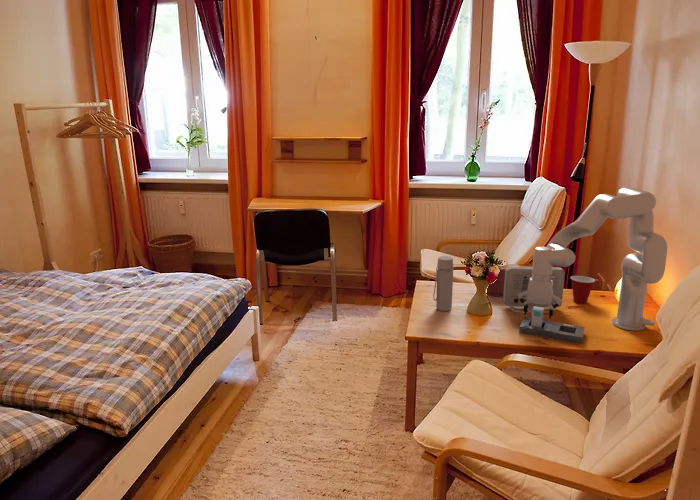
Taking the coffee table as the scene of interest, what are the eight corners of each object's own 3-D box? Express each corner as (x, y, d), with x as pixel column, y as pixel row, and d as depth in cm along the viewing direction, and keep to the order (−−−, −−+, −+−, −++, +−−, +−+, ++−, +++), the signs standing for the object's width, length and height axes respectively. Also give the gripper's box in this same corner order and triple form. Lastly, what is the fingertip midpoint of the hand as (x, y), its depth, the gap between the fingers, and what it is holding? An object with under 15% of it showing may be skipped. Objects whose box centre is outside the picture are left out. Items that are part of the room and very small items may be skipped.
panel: (583, 333, 212) (584, 326, 211) (581, 344, 203) (582, 337, 202) (524, 323, 223) (524, 316, 223) (519, 332, 214) (519, 325, 213)
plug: (542, 329, 217) (544, 307, 214) (540, 334, 213) (542, 311, 210) (532, 327, 219) (534, 306, 216) (530, 332, 215) (532, 310, 212)
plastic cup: (593, 299, 248) (596, 276, 245) (590, 307, 239) (593, 283, 236) (569, 296, 254) (572, 273, 250) (566, 303, 245) (568, 279, 242)
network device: (557, 306, 241) (561, 265, 236) (562, 313, 233) (567, 271, 228) (501, 304, 244) (504, 264, 239) (505, 312, 236) (508, 270, 230)
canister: (487, 286, 269) (489, 254, 264) (512, 290, 263) (514, 257, 258) (479, 293, 258) (481, 260, 254) (505, 298, 252) (508, 264, 247)
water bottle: (446, 305, 245) (448, 255, 238) (454, 311, 238) (457, 259, 231) (429, 307, 242) (430, 257, 235) (437, 313, 235) (439, 261, 228)
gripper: (565, 277, 209) (561, 316, 213) (521, 271, 217) (518, 308, 221) (562, 282, 202) (558, 322, 207) (517, 276, 210) (514, 315, 215)
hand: (537, 315), depth 214 cm, fingers open, 9 cm apart
